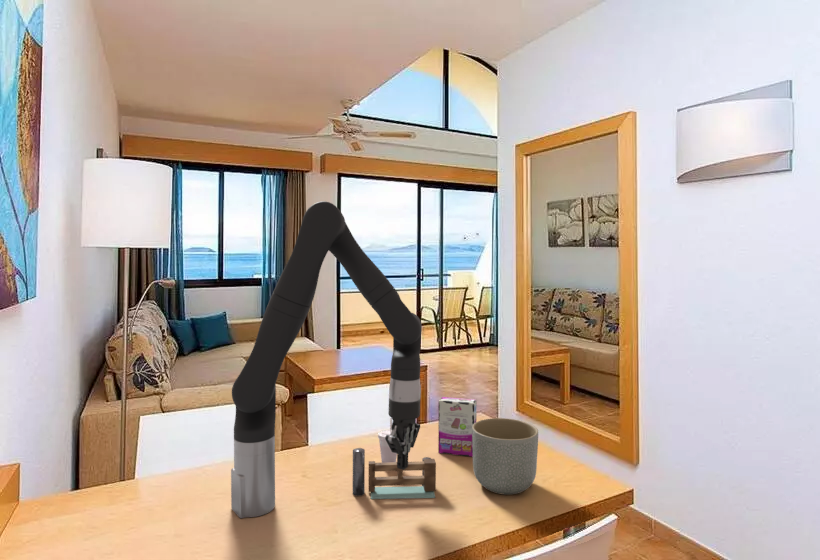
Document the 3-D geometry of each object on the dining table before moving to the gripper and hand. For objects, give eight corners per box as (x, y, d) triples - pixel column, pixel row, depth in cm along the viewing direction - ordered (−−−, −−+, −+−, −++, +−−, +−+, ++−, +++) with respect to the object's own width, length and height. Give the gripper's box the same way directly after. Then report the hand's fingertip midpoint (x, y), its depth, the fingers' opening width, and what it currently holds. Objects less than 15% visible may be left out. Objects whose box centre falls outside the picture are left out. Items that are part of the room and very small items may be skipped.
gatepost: (356, 497, 124) (356, 453, 124) (350, 492, 127) (350, 449, 126) (366, 493, 126) (367, 450, 126) (360, 489, 129) (360, 447, 128)
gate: (368, 493, 125) (368, 464, 125) (368, 488, 128) (368, 460, 128) (435, 491, 127) (435, 463, 126) (434, 486, 130) (434, 458, 129)
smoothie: (399, 471, 140) (399, 422, 139) (376, 471, 140) (376, 421, 139) (400, 462, 146) (400, 414, 145) (378, 462, 146) (378, 414, 145)
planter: (534, 506, 121) (535, 443, 120) (465, 495, 126) (465, 435, 125) (539, 477, 137) (540, 421, 136) (478, 468, 142) (479, 415, 141)
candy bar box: (476, 451, 155) (477, 399, 154) (474, 457, 150) (474, 403, 149) (441, 447, 158) (441, 395, 157) (437, 453, 153) (438, 400, 152)
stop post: (426, 488, 130) (426, 461, 129) (420, 484, 131) (420, 458, 131) (433, 485, 131) (433, 459, 131) (427, 482, 133) (427, 456, 133)
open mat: (370, 499, 124) (370, 498, 124) (371, 487, 130) (371, 487, 130) (435, 497, 124) (435, 497, 124) (432, 486, 130) (432, 486, 130)
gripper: (403, 405, 112) (401, 482, 113) (431, 393, 123) (429, 462, 124) (376, 400, 116) (373, 474, 116) (405, 388, 127) (403, 455, 128)
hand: (402, 467), depth 120 cm, fingers closed
